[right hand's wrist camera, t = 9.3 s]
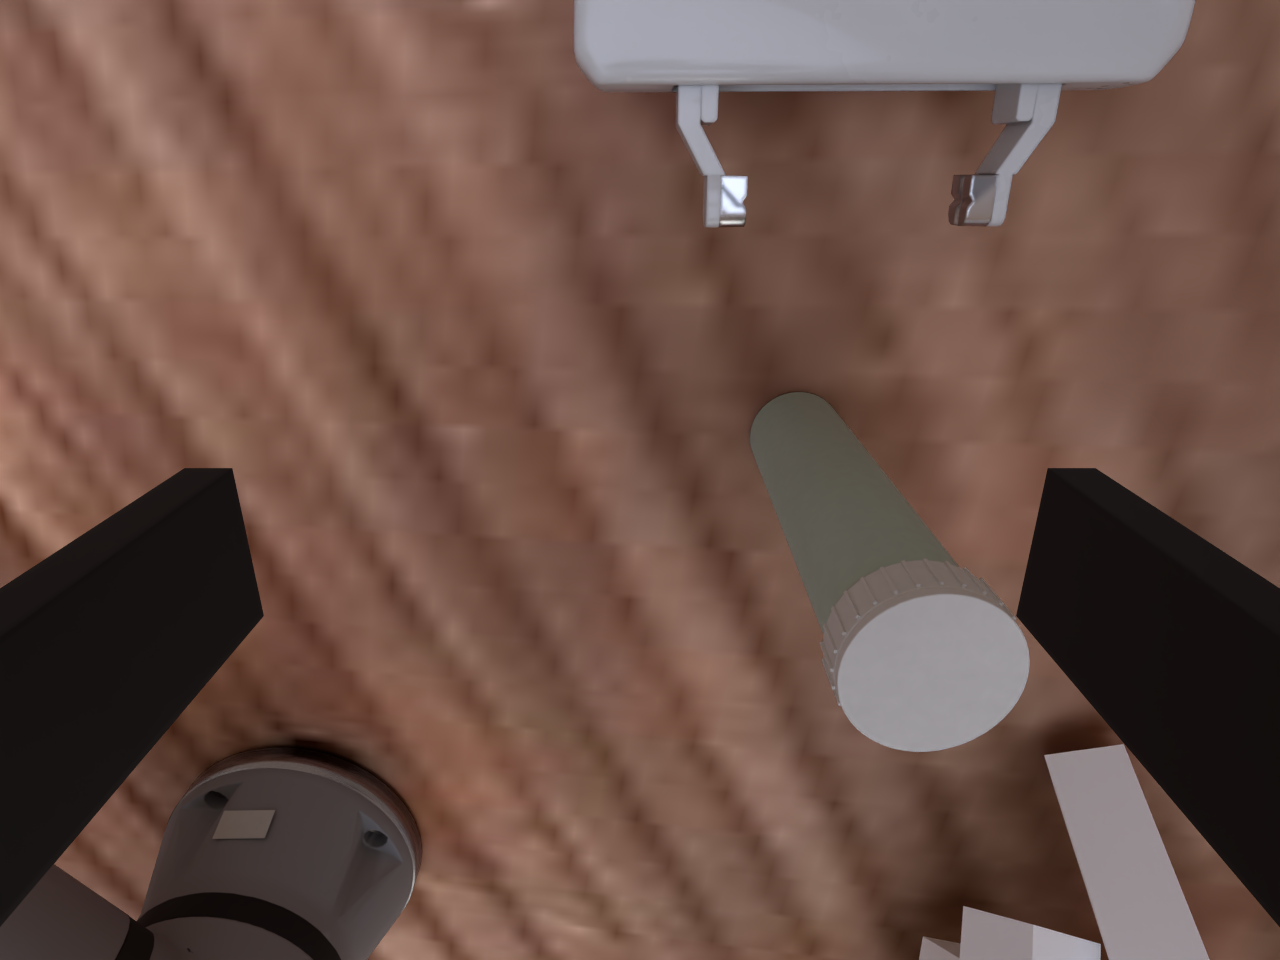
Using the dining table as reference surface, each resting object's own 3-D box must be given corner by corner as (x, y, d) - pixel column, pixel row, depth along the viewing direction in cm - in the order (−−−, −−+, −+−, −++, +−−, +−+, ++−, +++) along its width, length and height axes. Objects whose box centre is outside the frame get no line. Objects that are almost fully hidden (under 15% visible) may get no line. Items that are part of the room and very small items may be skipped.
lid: (1016, 682, 23) (1046, 725, 21) (843, 729, 23) (859, 774, 22) (985, 533, 21) (1016, 566, 19) (799, 589, 21) (812, 626, 20)
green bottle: (850, 461, 39) (1025, 708, 21) (764, 488, 40) (863, 752, 22) (827, 378, 38) (997, 572, 20) (738, 408, 38) (823, 622, 20)
